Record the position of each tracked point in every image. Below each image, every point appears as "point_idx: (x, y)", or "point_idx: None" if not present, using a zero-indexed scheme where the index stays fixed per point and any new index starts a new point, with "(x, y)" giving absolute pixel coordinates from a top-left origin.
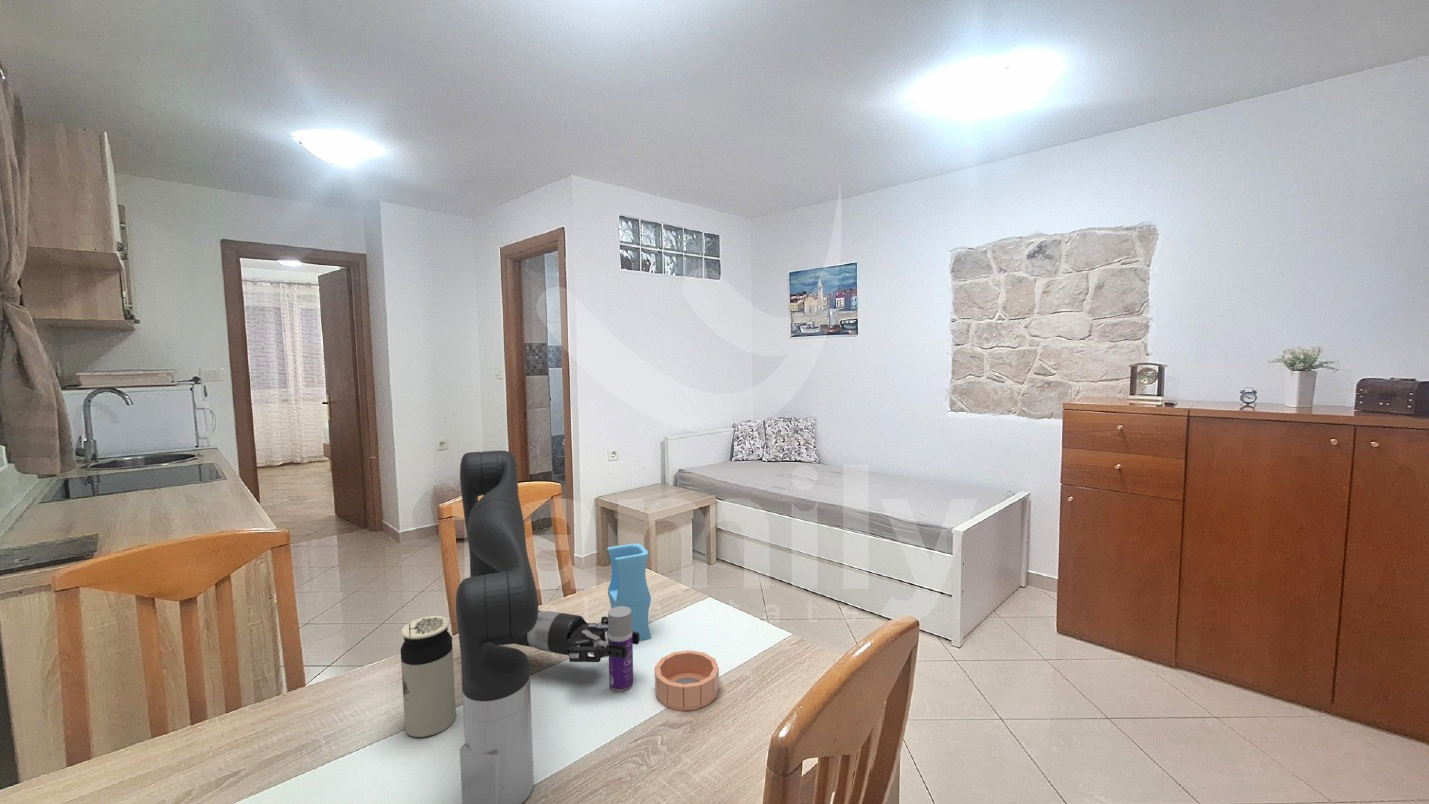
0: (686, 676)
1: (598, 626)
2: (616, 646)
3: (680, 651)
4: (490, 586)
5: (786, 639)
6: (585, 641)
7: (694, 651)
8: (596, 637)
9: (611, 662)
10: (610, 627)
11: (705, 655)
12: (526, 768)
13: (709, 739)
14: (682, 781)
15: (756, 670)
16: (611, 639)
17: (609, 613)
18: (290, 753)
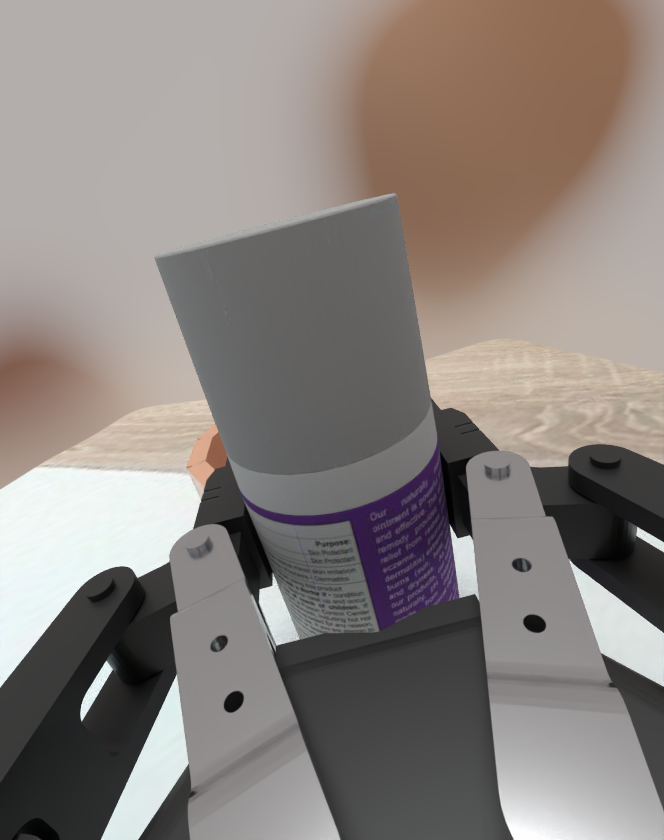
0: None
1: (243, 731)
2: (449, 423)
3: (199, 479)
4: None
5: (48, 462)
6: (655, 684)
7: (192, 456)
8: (509, 533)
9: (456, 587)
10: (416, 335)
11: (212, 431)
12: None
13: (448, 393)
14: (578, 366)
15: (185, 445)
16: (434, 432)
17: (359, 204)
18: None
